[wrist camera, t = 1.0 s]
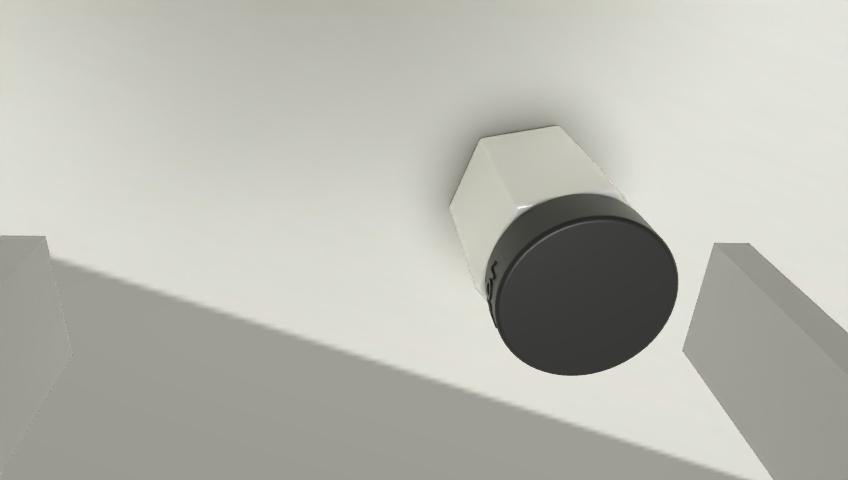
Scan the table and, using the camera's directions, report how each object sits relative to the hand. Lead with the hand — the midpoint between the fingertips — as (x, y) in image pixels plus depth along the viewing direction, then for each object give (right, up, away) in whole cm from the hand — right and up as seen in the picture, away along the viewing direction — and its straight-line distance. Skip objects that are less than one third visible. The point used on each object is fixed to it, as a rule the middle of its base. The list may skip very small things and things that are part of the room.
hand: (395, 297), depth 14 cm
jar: (+6, +4, +26) cm, 27 cm away
